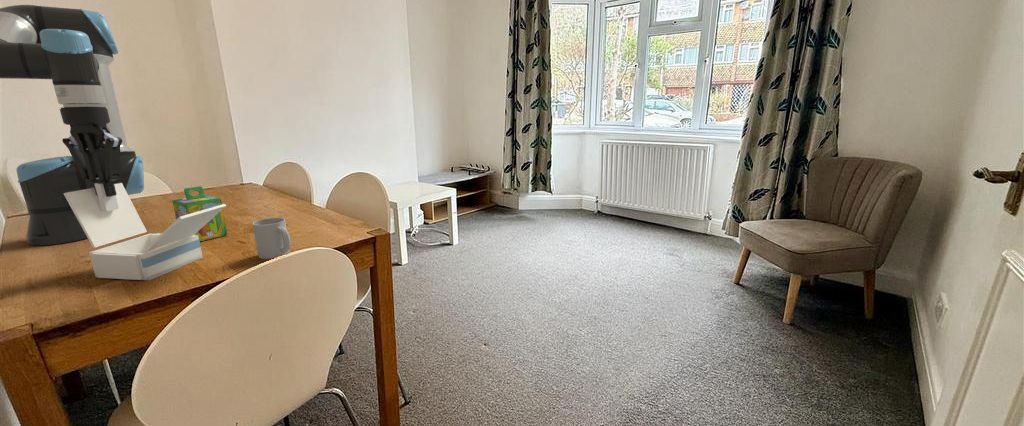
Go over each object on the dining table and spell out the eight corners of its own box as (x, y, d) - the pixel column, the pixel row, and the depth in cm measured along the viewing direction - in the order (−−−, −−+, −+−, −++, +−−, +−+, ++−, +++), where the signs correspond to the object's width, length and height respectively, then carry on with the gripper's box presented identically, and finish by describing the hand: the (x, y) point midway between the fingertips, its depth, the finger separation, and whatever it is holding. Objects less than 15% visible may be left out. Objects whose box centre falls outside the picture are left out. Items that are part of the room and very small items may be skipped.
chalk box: (193, 244, 118) (182, 192, 115) (178, 239, 123) (167, 188, 120) (229, 235, 126) (220, 186, 122) (214, 231, 131) (204, 183, 127)
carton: (92, 278, 95) (85, 253, 94) (157, 254, 110) (152, 232, 109) (146, 281, 93) (140, 255, 92) (205, 257, 108) (200, 234, 107)
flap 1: (93, 248, 95) (63, 193, 93) (145, 232, 107) (119, 183, 104) (95, 247, 95) (65, 192, 93) (147, 231, 107) (121, 182, 104)
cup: (277, 248, 114) (272, 216, 112) (303, 253, 110) (299, 220, 108) (251, 257, 108) (245, 223, 105) (278, 262, 103) (273, 227, 101)
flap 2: (144, 249, 93) (179, 216, 90) (192, 233, 105) (224, 203, 101) (146, 251, 93) (181, 219, 90) (193, 234, 105) (226, 205, 101)
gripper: (38, 106, 91) (68, 213, 97) (89, 105, 89) (117, 214, 95) (77, 106, 98) (103, 205, 104) (125, 105, 96) (150, 206, 102)
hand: (110, 209), depth 99 cm, fingers closed
